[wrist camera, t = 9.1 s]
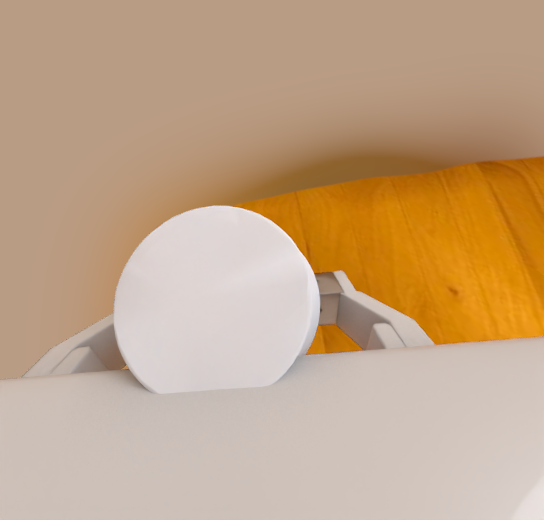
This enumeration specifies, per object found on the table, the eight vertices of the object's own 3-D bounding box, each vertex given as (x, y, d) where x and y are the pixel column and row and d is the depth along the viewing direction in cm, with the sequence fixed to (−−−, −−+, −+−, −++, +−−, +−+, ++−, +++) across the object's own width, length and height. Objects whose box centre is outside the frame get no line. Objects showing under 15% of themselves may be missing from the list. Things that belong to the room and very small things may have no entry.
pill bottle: (222, 264, 17) (110, 168, 5) (299, 267, 16) (347, 174, 5) (212, 347, 15) (25, 453, 4) (297, 352, 15) (363, 480, 4)
